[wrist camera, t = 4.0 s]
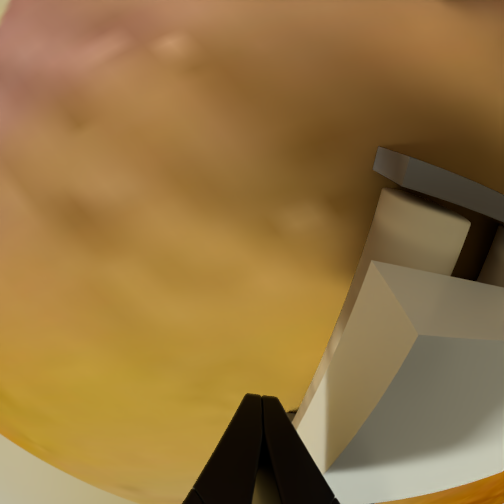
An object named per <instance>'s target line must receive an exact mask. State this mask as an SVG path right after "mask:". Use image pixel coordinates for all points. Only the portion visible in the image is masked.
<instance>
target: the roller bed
mask: <svg viewBox="0 0 504 504" xmlns="http://www.w3.org/2000/svg"><path fill="white" fill-rule="evenodd" d="M373 170H374V171H376V172H378V173H379V174H381V175H383V176H385V177H387V178H388V179H390V180H392V181H393V182H395V183H397V184H399V185H400V186H402V187H406V188H409V189H412V190H415V191H418V192H422V193H425V194H428V195H431V196H434V197H437V198H440V199H443V200H446V201H448V202H451V203H454V204H457V205H460V206H463V207H465V208H468V209H471V210H473V211H476V212H479V213H481V214H484V215H487V216H489V217H492V218H494V219H497V220H499V221H502V222H504V195H503V194H501V193H499V192H497V191H494V190H492V189H490V188H488V187H486V186H483V185H481V184H479V183H476V182H474V181H472V180H469V179H467V178H465V177H462V176H460V175H457V174H455V173H452V172H450V171H447V170H445V169H442V168H440V167H437V166H434V165H432V164H429V163H426V162H424V161H421V160H418V159H415V158H412V157H409V156H406V155H404V154H401V153H398V152H395V151H391V150H388V149H385V148H382V147H379V146H378V150H377V154H376V158H375V162H374V166H373ZM470 225H471V223H470V222H469V221H468V220H467V219H466V218H464V217H463V216H461V215H460V214H458V213H456V212H454V211H452V210H451V209H449V208H447V207H444V206H442V205H440V204H438V203H436V202H433V201H431V200H428V199H426V198H423V197H420V196H417V195H415V194H412V193H408V192H405V191H401V190H397V189H393V188H382V191H381V194H380V198H379V201H378V205H377V208H376V211H375V215H374V218H373V221H372V224H371V227H370V231H369V234H368V237H367V240H366V243H365V246H364V249H363V252H362V255H361V258H360V261H359V264H358V267H357V269H356V272H355V275H354V278H353V281H352V283H351V286H350V289H349V292H348V294H347V297H346V300H345V302H344V305H343V307H342V310H341V313H340V315H339V318H338V320H337V323H336V325H335V328H334V330H333V333H332V335H331V338H330V340H329V342H328V345H327V347H326V349H325V352H324V354H323V356H322V359H321V361H320V363H319V366H318V368H317V370H316V372H315V375H314V377H313V379H312V381H311V384H310V386H309V388H308V390H307V392H306V394H305V396H304V399H303V401H302V403H301V405H300V407H299V409H298V411H297V413H296V414H295V413H287V415H288V417H289V419H290V420H291V422H292V424H293V426H294V427H295V429H296V430H297V428H298V426H299V424H300V422H301V420H302V418H303V417H304V415H305V413H306V411H307V409H308V407H309V405H310V403H311V401H312V399H313V397H314V395H315V393H316V391H317V389H318V387H319V385H320V383H321V380H322V378H323V376H324V374H325V372H326V370H327V368H328V366H329V363H330V361H331V359H332V357H333V355H334V352H335V350H336V348H337V346H338V343H339V341H340V339H341V336H342V334H343V332H344V329H345V327H346V325H347V322H348V320H349V317H350V315H351V312H352V310H353V307H354V305H355V302H356V300H357V297H358V295H359V292H360V290H361V287H362V284H363V282H364V279H365V276H366V274H367V271H368V268H369V265H370V263H371V260H373V261H378V262H383V263H388V264H393V265H398V266H403V267H408V268H413V269H418V270H422V271H427V272H432V273H437V274H442V275H447V276H451V273H452V271H453V269H454V266H455V264H456V261H457V259H458V257H459V254H460V252H461V249H462V246H463V244H464V241H465V238H466V236H467V233H468V230H469V227H470ZM476 282H480V283H484V284H489V285H494V286H498V287H503V288H504V226H502V225H499V226H498V229H497V232H496V235H495V237H494V240H493V243H492V245H491V248H490V250H489V253H488V255H487V258H486V260H485V263H484V265H483V267H482V270H481V272H480V274H479V277H478V279H477V281H476Z"/></svg>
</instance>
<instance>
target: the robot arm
mask: <svg viewBox="0 0 504 504" xmlns="http://www.w3.org/2000/svg"><path fill="white" fill-rule="evenodd" d="M334 497H335V495H334V493H333V491H332V490H331V488H330V486H329V485H328V483H327V482H326V480H325V478H324V477H323V475H322V473H321V472H320V470H319V468H318V467H317V465H316V463H315V462H314V460H313V458H312V457H311V455H310V453H309V452H308V450H307V448H306V446H305V445H304V443H303V441H302V440H301V438H300V436H299V434H298V433H297V431H296V429H295V427H294V426H293V424H292V422H291V420H290V419H289V417H288V415H287V413H286V412H285V410H284V408H283V406H282V405H281V403H280V401H279V399H278V398H277V397H274V396H266V395H264V396H262V397H261V396H260V395H258V394H250V393H247V394H246V395H245V396H244V398H243V400H242V402H241V403H240V405H239V407H238V409H237V411H236V413H235V414H234V416H233V418H232V420H231V422H230V423H229V425H228V427H227V429H226V431H225V432H224V434H223V436H222V438H221V440H220V441H219V443H218V445H217V447H216V448H215V450H214V452H213V453H212V455H211V457H210V459H209V460H208V462H207V464H206V465H205V467H204V469H203V471H202V472H201V474H200V476H199V477H198V479H197V481H196V482H195V484H194V486H193V489H191V490H190V492H189V493H188V495H187V497H186V498H185V500H184V501H183V503H182V504H340V502H339V501H338V499H337V498H334ZM371 504H374V503H371Z"/></svg>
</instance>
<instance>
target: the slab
mask: <svg viewBox="0 0 504 504" xmlns="http://www.w3.org/2000/svg"><path fill="white" fill-rule="evenodd" d="M296 431H297V433H298V434H299V436H300V438H301V440H302V441H303V443H304V445H305V446H306V448H307V450H308V452H309V453H310V455H311V457H312V458H313V460H314V462H315V463H316V465H317V467H318V468H319V470H320V472H321V473H322V475H323V477H324V478H325V480H326V482H327V483H328V485H329V486H330V488H331V490H332V491H333V493H334V495H335V497H334V498H337V499H338V501H339V502H340V504H371V503H379V502H386V501H393V500H399V499H405V498H410V497H415V496H420V495H425V494H429V493H434V492H438V491H442V490H446V489H449V488H453V487H457V486H460V485H464V484H467V483H470V482H473V481H477V480H480V479H483V478H486V477H488V476H491V475H494V474H497V473H499V472H502V471H504V288H503V287H498V286H494V285H489V284H484V283H480V282H475V281H470V280H466V279H461V278H456V277H451V276H447V275H442V274H437V273H432V272H427V271H422V270H418V269H413V268H408V267H403V266H398V265H393V264H388V263H383V262H378V261H373V260H371V263H370V265H369V268H368V271H367V274H366V276H365V279H364V282H363V284H362V287H361V290H360V292H359V295H358V297H357V300H356V302H355V305H354V307H353V310H352V312H351V315H350V317H349V320H348V322H347V325H346V327H345V329H344V332H343V334H342V336H341V339H340V341H339V343H338V346H337V348H336V350H335V352H334V355H333V357H332V359H331V361H330V363H329V366H328V368H327V370H326V372H325V374H324V376H323V378H322V380H321V383H320V385H319V387H318V389H317V391H316V393H315V395H314V397H313V399H312V401H311V403H310V405H309V407H308V409H307V411H306V413H305V415H304V417H303V418H302V420H301V422H300V424H299V426H298V428H297V430H296Z"/></svg>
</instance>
